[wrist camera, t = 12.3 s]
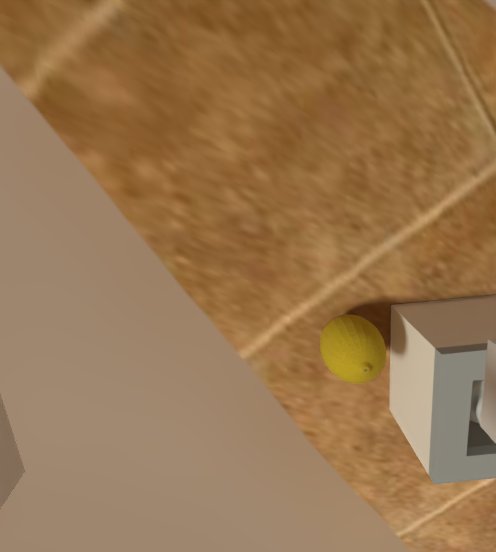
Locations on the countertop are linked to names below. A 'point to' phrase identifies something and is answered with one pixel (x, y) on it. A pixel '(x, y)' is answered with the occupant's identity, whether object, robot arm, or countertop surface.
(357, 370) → the lemon
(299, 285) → the countertop surface
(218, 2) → the countertop surface
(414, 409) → the drop box
